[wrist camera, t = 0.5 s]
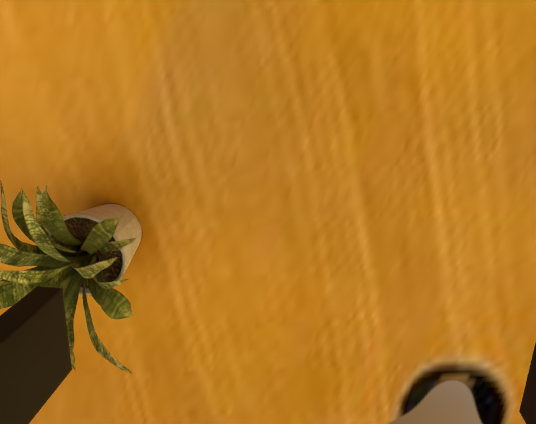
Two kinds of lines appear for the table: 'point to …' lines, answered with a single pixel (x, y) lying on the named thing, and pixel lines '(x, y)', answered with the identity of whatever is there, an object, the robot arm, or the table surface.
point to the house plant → (71, 258)
